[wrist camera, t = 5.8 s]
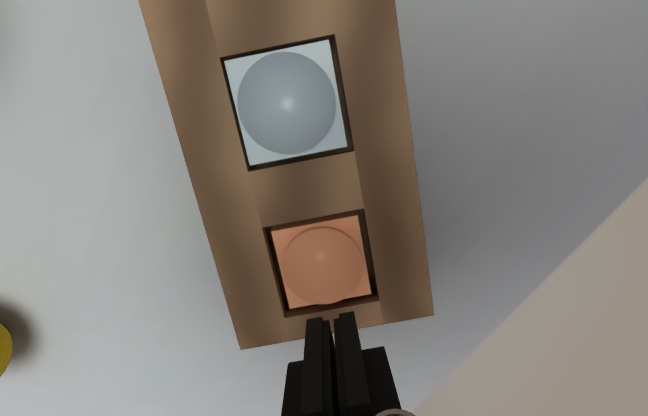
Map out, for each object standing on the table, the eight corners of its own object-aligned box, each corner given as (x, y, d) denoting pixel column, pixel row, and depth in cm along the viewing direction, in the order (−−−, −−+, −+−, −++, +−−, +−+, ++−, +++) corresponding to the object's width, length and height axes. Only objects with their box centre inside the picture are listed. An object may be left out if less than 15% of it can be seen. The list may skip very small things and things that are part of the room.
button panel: (352, -178, 18) (361, -259, 14) (415, 284, 25) (434, 315, 21) (131, -128, 18) (81, -194, 15) (252, 314, 25) (240, 349, 21)
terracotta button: (353, 204, 22) (358, 218, 19) (365, 275, 23) (373, 298, 20) (276, 219, 22) (269, 235, 19) (292, 289, 23) (289, 314, 20)
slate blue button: (327, 49, 18) (329, 36, 15) (343, 143, 20) (348, 147, 17) (236, 68, 19) (220, 58, 16) (258, 159, 20) (247, 167, 17)
